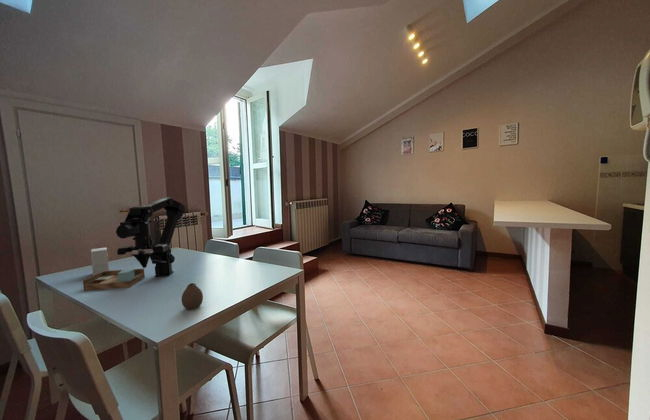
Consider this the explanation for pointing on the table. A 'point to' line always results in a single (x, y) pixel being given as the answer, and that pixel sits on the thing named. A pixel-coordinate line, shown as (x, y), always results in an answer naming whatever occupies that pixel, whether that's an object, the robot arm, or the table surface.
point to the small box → (99, 260)
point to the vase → (192, 297)
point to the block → (126, 275)
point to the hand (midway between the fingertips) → (144, 267)
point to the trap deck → (111, 280)
